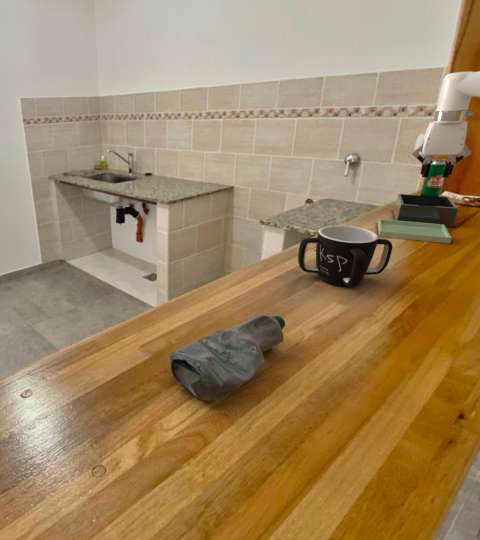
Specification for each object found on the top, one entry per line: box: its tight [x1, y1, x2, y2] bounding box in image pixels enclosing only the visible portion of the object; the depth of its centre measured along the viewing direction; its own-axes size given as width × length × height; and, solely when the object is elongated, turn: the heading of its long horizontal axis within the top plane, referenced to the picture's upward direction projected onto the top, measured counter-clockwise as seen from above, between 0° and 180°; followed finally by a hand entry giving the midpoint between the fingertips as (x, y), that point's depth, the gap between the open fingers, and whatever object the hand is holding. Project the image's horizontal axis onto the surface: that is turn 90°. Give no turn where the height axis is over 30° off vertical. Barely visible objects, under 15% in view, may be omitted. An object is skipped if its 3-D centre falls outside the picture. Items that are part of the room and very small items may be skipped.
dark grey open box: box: [393, 193, 459, 229], centre depth 129 cm, size 15×16×6 cm
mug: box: [297, 225, 394, 288], centre depth 91 cm, size 16×16×12 cm
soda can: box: [420, 158, 449, 199], centre depth 124 cm, size 5×5×12 cm
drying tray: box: [377, 218, 452, 244], centre depth 118 cm, size 17×13×2 cm
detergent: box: [169, 313, 286, 401], centre depth 65 cm, size 13×7×25 cm
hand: (434, 176), depth 124 cm, fingers closed on soda can, 5 cm apart
